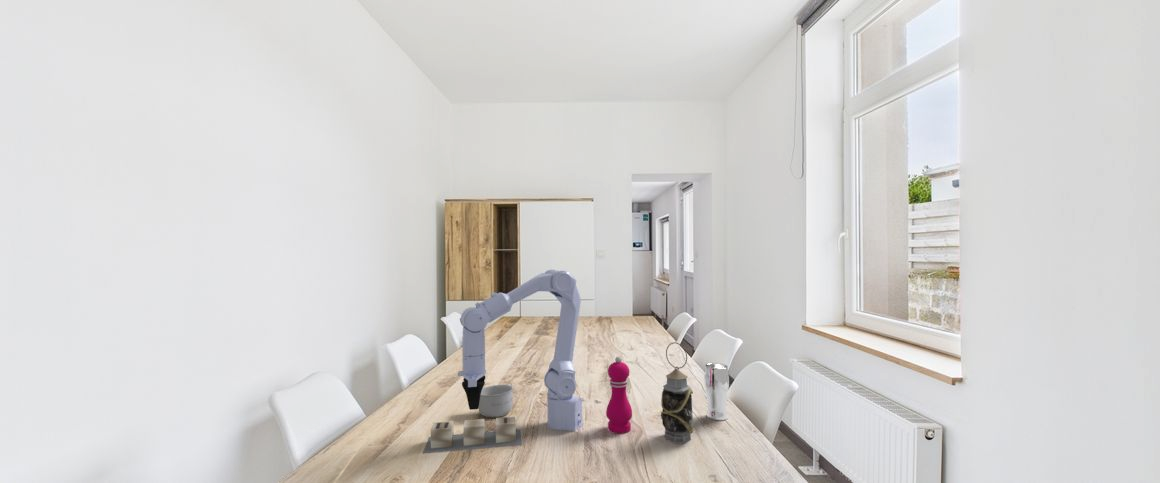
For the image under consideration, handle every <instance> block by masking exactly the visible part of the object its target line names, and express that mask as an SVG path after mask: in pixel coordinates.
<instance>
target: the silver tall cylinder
mask: <svg viewBox="0 0 1160 483" xmlns="http://www.w3.org/2000/svg"><path fill="white" fill-rule="evenodd" d="M703 378H704V380H703V381H704V388H705V393H706V394H705V395H706V399H707V409H706V417H707V418H708V419H710V420H713V421H726V420H727V419H728V418H729V415H728V410H727V401H728V394H729V386H730V376H729V367H728V365H727V364H725V363H718V362H710V363H709V362H708V363H706V364H704V377H703Z"/></svg>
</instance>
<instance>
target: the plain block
mask: <svg viewBox="0 0 1160 483" xmlns="http://www.w3.org/2000/svg"><path fill="white" fill-rule="evenodd" d="M485 423H486V422H485V418H479V419H477V418H476V419H465V420H464V424H463V434H464V446H465V445H477V444H484V438H485V432H486V431H485V429H486V428H485V425H486V424H485Z"/></svg>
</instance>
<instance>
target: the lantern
mask: <svg viewBox="0 0 1160 483" xmlns="http://www.w3.org/2000/svg"><path fill="white" fill-rule="evenodd" d="M673 344H677V345H679V346H680V347H681V348H682V349H683V350H684V352H685V353H684V354H685V362H684V364H683V365H682V366H680V367H678V366H674V365H673V364H672V363H671V362H670V361H669V358H668V349H669V347H670V346H671V345H673ZM665 357H666V360H667V362H668V364H669V365H670V366H672V367H673V368H674V369H673V371H671V372H670V373H668V374H666V375H665V378H666V384H663V386H662V387H663V390H662V392H661V403H660V404H661V408H662V411H661V412H660V418H661V420H662V422H661V423H662V426H663V427H664V438H665V440H666V441H669V442H672V443H675V444H686V443H687V442H690V441H691V440H692V435H691V434H692V433H693V430H694V425H693V424H694V420H693V398H692V396H693V393H694V391H693V389H692V388H691V386H690V385H688V382H687V381H688V380H687V378H688V377H689V376H688V375H686V374H684V373H683V372H682V371H680V369H682V368H684V367H685V366H686V364H687V361H688V354H687V351H686V349H685V347H684V345H682V344H681V343H679V342H670V343H669V344H668V346H667V347H666V349H665Z"/></svg>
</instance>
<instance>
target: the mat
mask: <svg viewBox="0 0 1160 483" xmlns="http://www.w3.org/2000/svg"><path fill="white" fill-rule="evenodd" d="M514 446H523V440H522V432H521V429H516V441H512V442H501V443H496V430H495V431H485V438H484V444H477V445H465V446H464V433H461V434H460V433H459V434H454V439H453V443H452V447H442V448H431V436H429V437H428V439H427V441H426V444H425V447H424V448H423V449H424V450H423V451H422V454H432V453H433V454H434V453H443V452H444V453H445V452H456V451H467V450H470V451H471V450H480V449H492V448H502V447H514Z"/></svg>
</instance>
